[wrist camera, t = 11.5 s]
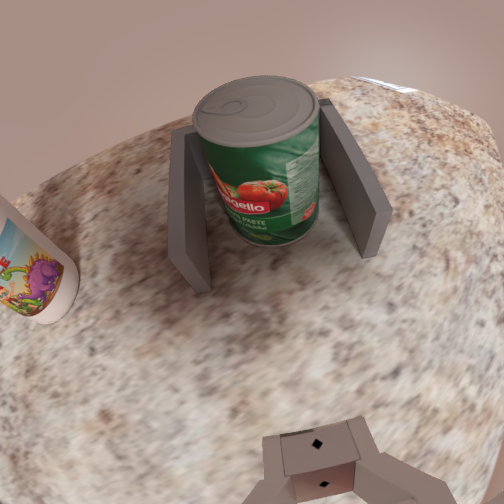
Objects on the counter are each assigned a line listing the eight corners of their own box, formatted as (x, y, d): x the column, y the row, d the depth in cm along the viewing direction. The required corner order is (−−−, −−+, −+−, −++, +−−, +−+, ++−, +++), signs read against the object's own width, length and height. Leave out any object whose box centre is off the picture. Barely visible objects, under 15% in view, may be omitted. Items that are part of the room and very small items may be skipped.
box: (197, 293, 24) (167, 257, 19) (191, 174, 30) (172, 130, 25) (376, 255, 23) (393, 209, 18) (328, 146, 30) (328, 98, 24)
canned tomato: (322, 179, 27) (322, 75, 18) (313, 253, 24) (315, 146, 14) (240, 174, 29) (213, 77, 20) (218, 243, 26) (172, 144, 16)
